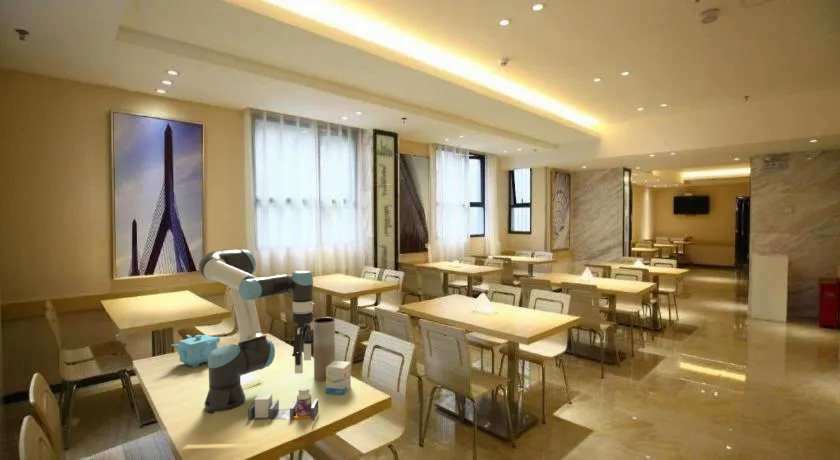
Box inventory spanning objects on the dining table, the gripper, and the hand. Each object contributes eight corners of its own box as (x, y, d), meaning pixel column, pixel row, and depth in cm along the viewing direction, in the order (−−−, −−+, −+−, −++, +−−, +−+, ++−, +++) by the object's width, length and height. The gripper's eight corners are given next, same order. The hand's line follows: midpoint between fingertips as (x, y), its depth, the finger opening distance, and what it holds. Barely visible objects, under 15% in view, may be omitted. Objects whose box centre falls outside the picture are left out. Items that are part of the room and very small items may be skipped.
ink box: (344, 394, 181) (343, 368, 181) (325, 393, 183) (325, 366, 182) (351, 386, 190) (350, 361, 189) (333, 385, 191) (333, 360, 191)
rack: (247, 422, 157) (247, 409, 157) (255, 412, 165) (255, 399, 165) (313, 421, 158) (313, 408, 158) (318, 411, 166) (318, 398, 166)
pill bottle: (294, 415, 160) (293, 390, 160) (302, 409, 165) (302, 384, 165) (306, 417, 159) (305, 392, 158) (314, 411, 164) (313, 386, 163)
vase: (323, 372, 208) (322, 316, 207) (339, 375, 203) (338, 318, 202) (309, 379, 199) (308, 321, 198) (326, 382, 194) (325, 323, 193)
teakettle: (222, 356, 232) (221, 329, 232) (211, 368, 214) (211, 339, 213) (185, 358, 229) (184, 331, 228) (171, 370, 210) (170, 341, 210)
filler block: (255, 417, 159) (254, 399, 159) (259, 411, 164) (259, 393, 164) (268, 417, 159) (268, 399, 159) (272, 411, 164) (272, 393, 164)
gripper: (304, 319, 148) (305, 379, 149) (319, 304, 173) (319, 355, 174) (283, 319, 148) (284, 379, 149) (301, 304, 173) (301, 355, 174)
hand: (303, 366), depth 161 cm, fingers open, 13 cm apart
